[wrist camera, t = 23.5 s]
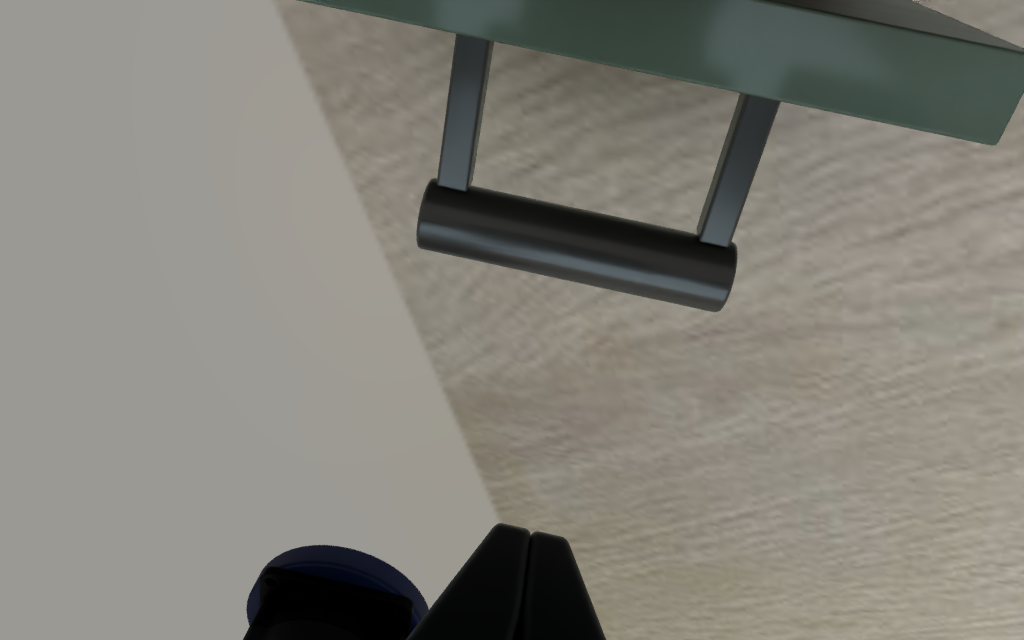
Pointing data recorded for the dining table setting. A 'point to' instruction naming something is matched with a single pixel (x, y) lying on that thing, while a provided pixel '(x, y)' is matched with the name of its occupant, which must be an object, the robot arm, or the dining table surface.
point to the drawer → (706, 61)
